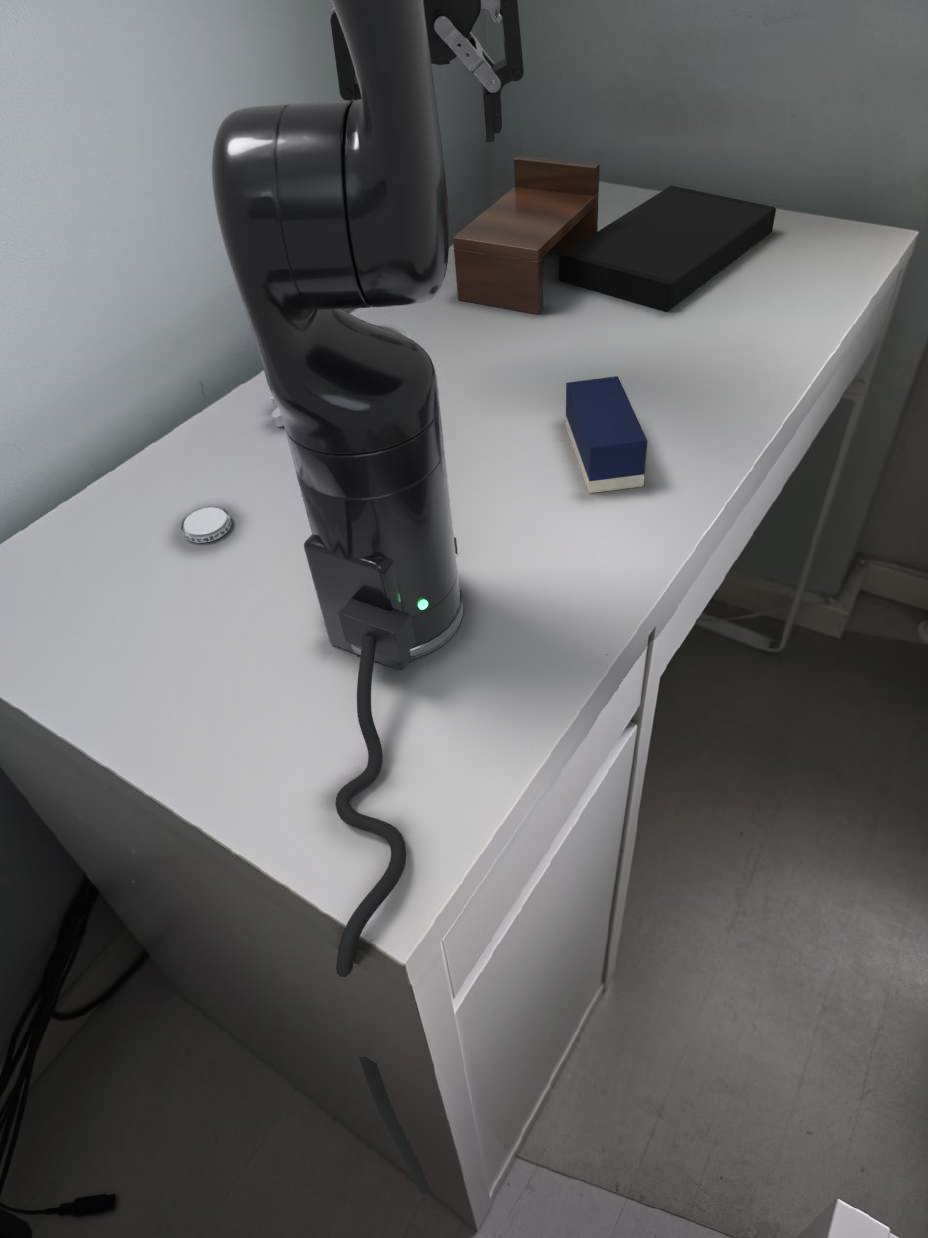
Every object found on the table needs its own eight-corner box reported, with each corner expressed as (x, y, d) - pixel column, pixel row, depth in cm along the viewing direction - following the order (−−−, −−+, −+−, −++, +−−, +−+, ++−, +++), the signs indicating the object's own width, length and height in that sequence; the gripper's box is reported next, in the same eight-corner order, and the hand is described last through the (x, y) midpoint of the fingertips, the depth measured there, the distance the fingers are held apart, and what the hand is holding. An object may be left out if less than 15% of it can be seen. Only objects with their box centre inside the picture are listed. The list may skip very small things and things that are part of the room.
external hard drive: (558, 280, 99) (558, 254, 97) (667, 209, 110) (669, 184, 108) (667, 312, 92) (670, 284, 90) (772, 233, 103) (776, 207, 101)
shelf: (538, 314, 94) (537, 219, 87) (457, 300, 98) (450, 207, 90) (596, 253, 103) (599, 163, 96) (520, 242, 107) (518, 154, 100)
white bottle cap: (235, 510, 74) (233, 504, 73) (226, 541, 71) (223, 535, 70) (189, 512, 74) (186, 506, 73) (177, 543, 71) (175, 537, 71)
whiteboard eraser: (643, 486, 72) (647, 440, 69) (588, 493, 72) (590, 447, 69) (615, 420, 79) (618, 375, 76) (565, 426, 79) (565, 382, 76)
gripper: (303, -76, 57) (351, 175, 70) (521, -104, 56) (529, 154, 69) (310, -107, 62) (354, 133, 74) (511, -133, 61) (520, 114, 74)
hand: (438, 143), depth 72 cm, fingers open, 8 cm apart
